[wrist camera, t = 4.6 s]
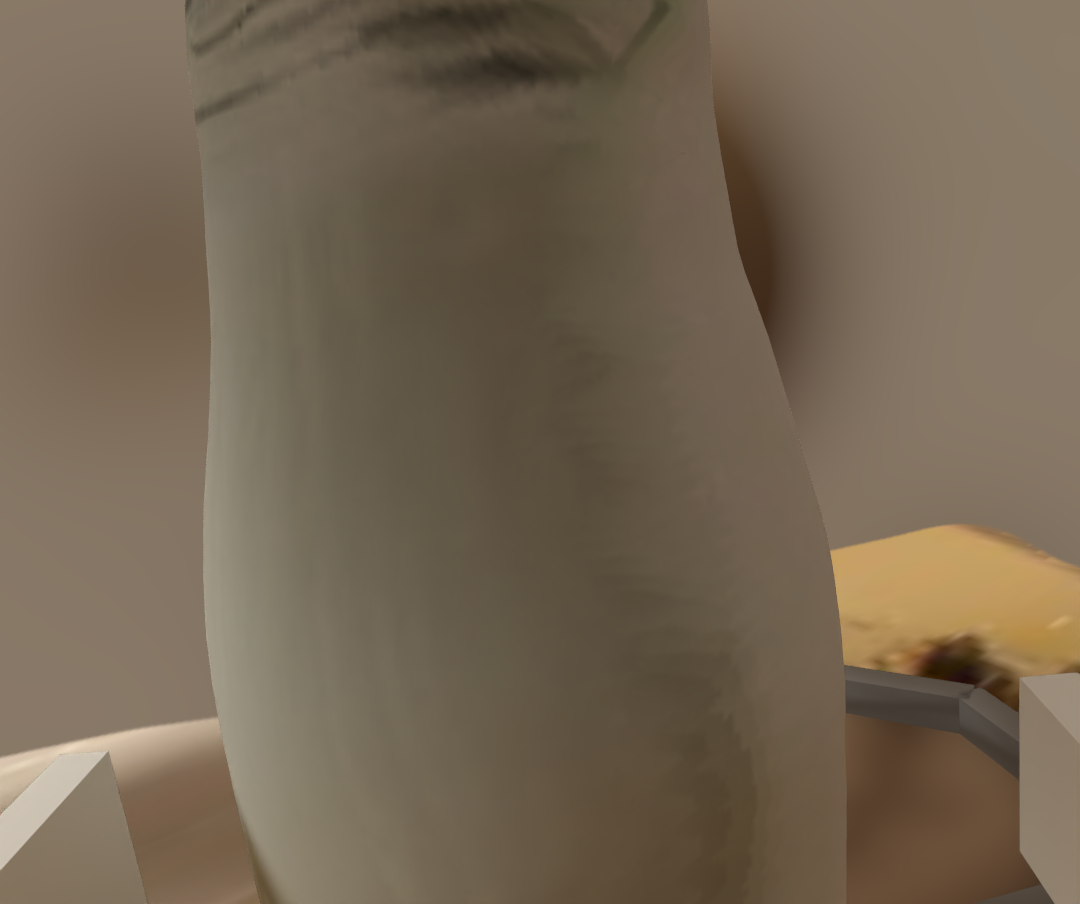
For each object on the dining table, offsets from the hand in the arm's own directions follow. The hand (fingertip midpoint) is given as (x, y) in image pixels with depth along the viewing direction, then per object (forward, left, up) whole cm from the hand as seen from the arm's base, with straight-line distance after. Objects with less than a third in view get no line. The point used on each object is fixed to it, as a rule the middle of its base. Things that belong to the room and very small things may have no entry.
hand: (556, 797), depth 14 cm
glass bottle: (-2, +2, -14) cm, 14 cm away
